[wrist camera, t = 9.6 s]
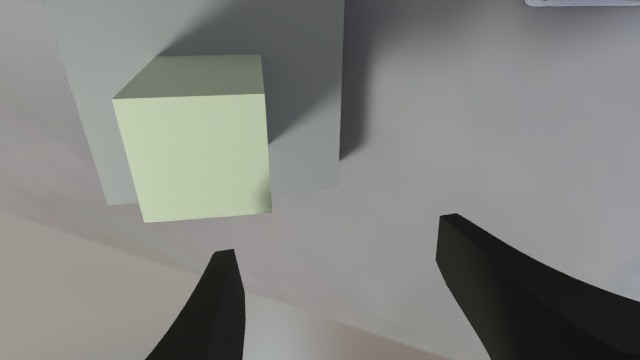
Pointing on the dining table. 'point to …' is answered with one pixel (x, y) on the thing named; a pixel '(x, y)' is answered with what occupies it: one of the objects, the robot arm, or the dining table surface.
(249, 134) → the green block
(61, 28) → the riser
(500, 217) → the dining table surface
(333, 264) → the dining table surface
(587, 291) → the robot arm
